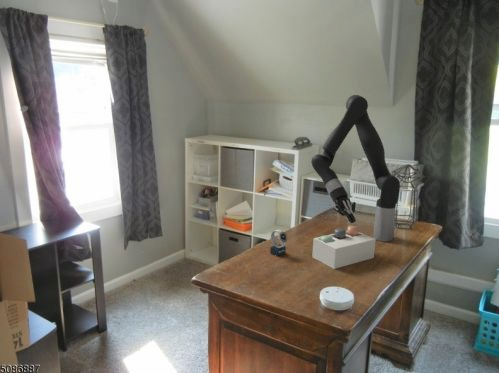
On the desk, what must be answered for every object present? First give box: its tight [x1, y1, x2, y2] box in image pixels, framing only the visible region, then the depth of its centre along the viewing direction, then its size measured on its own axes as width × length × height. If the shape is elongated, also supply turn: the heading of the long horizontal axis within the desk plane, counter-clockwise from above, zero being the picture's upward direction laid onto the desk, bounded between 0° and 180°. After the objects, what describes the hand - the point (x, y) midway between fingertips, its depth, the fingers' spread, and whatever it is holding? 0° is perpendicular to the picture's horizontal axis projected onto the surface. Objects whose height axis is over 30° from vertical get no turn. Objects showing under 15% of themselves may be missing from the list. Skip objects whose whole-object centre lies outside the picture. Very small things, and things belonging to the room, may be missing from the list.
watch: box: [269, 229, 288, 257], centre depth 187 cm, size 6×8×11 cm
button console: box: [311, 230, 377, 270], centre depth 185 cm, size 24×14×9 cm, turn 122°
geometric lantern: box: [390, 164, 426, 230], centre depth 227 cm, size 16×16×35 cm
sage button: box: [320, 234, 332, 243], centre depth 182 cm, size 5×5×4 cm
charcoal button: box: [333, 227, 347, 240], centre depth 186 cm, size 5×5×4 cm
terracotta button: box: [346, 225, 360, 237], centre depth 190 cm, size 5×5×4 cm
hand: (353, 222), depth 188 cm, fingers closed
